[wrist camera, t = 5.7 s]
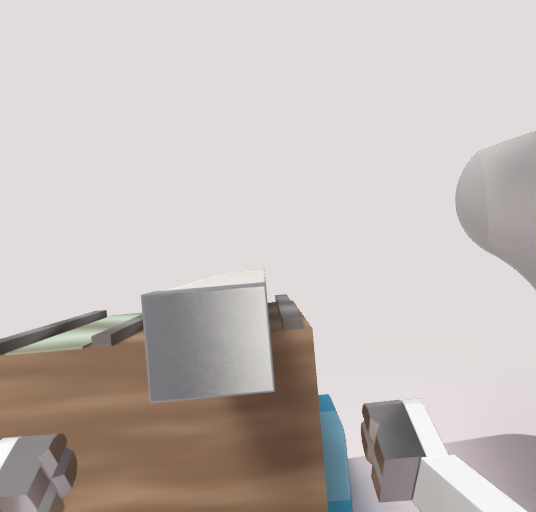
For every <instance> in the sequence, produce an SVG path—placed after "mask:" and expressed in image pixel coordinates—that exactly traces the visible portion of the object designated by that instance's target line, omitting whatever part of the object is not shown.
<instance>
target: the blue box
mask: <svg viewBox="0 0 536 512" xmlns="http://www.w3.org/2000/svg"><path fill="white" fill-rule="evenodd" d="M318 399H319V411H320V422H321V434H322V445H323V456H324V468H325V479H326V490H327V502H328V512H352V504H351V492H350V481H349V470H348V459H347V448H346V439H345V433H344V429H343V426H342V424H341V421H340V419H339V416H338V414H337V412H336V409H335V407H334V405H333V403H332V400H331V398H330V396H329V395H328V394H326V395H318Z"/></svg>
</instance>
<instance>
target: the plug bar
mask: <svg viewBox="0 0 536 512" xmlns="http://www.w3.org/2000/svg"><path fill="white" fill-rule="evenodd" d="M141 301H142V314H143V326H144V339H145V351H146V363H147V375H148V387H149V399H150V403H157V402H168V401H180V400H191V399H202V398H213V397H224V396H235V395H246V394H257V393H268V392H275V384H274V372H273V361H272V349H271V338H270V326H269V315H268V303H267V291H266V280H265V270H264V269H262V270H250V271H239V272H228V273H223V274H219V275H216V276H212V277H209V278H206V279H202V280H198V281H195V282H192V283H188V284H185V285H181V286H178V287H174V288H171V289H168V290H164V291H157V292H151V293H147V294H143V295H141Z"/></svg>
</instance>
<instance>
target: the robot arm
mask: <svg viewBox="0 0 536 512" xmlns="http://www.w3.org/2000/svg"><path fill="white" fill-rule="evenodd" d="M455 200H456V211H457V215H458V218H459V221H460V223H461V225H462V227H463V229H464V230H465V232H466V233H467V235H468V236H469V237H470V238H471V239H472V240H473V241H474V242H475V243H476V244H477V245H478V246H480V247H481V248H483V249H484V250H485V251H487V252H489V253H491V254H493V255H495V256H497V257H498V258H500V259H501V260H503V261H505V262H506V263H508V264H509V265H510V266H512V267H513V268H514V269H516V270H517V271H518V272H519V273H520V274H521V275H522V276H523V277H524V278H525V279H527V281H528V282H529V283H530V284H531V285H532V286H533V287H534V289H535V290H536V131H534V132H531V133H528V134H525V135H522V136H519V137H516V138H513V139H510V140H507V141H504V142H502V143H499V144H496V145H494V146H491V147H489V148H486V149H483V150H481V151H478V152H477V153H476V154H475V155H474V156H473V157H472V158H471V160H470V161H469V162H468V164H467V165H466V167H465V168H464V170H463V172H462V174H461V176H460V179H459V182H458V185H457V189H456V198H455ZM362 414H363V417H364V421H363V422H362V423H361V436H362V444H363V448H364V452H365V456H366V459H367V461H368V462H370V463H371V464H372V475H371V477H372V480H373V483H374V487H375V490H376V493H377V497H378V500H379V502H393V501H407V500H412V502H413V504H414V505H415V506H416V507H417V508H418V509H419V510H420V511H421V512H527V511H526V510H525V509H523V508H522V507H521V506H520V505H518V504H517V503H516V502H514V501H513V500H512V499H511V498H509V497H508V496H507V495H506V494H504V493H503V492H502V491H501V490H499V489H498V488H497V487H495V486H494V485H493V484H492V483H490V482H489V481H488V480H487V479H485V478H484V477H483V476H481V475H480V474H479V473H478V472H476V471H475V470H474V469H473V468H471V467H470V466H469V465H467V464H466V463H465V462H464V461H462V460H461V459H460V458H459V457H457V456H456V455H455V454H453V455H449V454H448V452H447V450H446V448H445V446H444V444H443V442H442V440H441V438H440V436H439V434H438V432H437V430H436V428H435V426H434V424H433V422H432V420H431V418H430V416H429V414H428V412H427V410H426V408H425V406H424V404H423V402H422V401H421V400H420V399H408V400H393V401H384V402H375V403H366V404H364V405H363V408H362ZM67 442H68V440H67V439H66V437H65V435H64V434H63V433H61V434H48V435H34V436H20V437H9V438H3V439H2V440H0V512H63V510H64V508H65V504H64V501H63V497H64V496H65V495H66V494H67V493H68V492H69V491H70V490H71V489H72V487H73V484H74V481H75V479H76V474H77V466H78V464H77V458H76V455H75V453H74V451H72V450H70V449H69V448H67V447H66V444H67Z"/></svg>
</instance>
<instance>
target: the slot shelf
mask: <svg viewBox="0 0 536 512" xmlns="http://www.w3.org/2000/svg"><path fill="white" fill-rule="evenodd" d="M275 298H276V302H272V303H268V315H269V326H270V338H271V349H272V361H273V372H274V384H275V392H268V393H257V394H246V395H235V396H224V397H213V398H202V399H191V400H180V401H168V402H157V403H150V399H149V387H148V375H147V363H146V351H145V339H144V326H143V314H142V313H134V314H124V315H123V314H122V315H112V316H109V317H107V313H106V312H107V311H106V310H104V311H94V312H91V313H88V314H84V315H81V316H77V317H74V318H70V319H67V320H64V321H60V322H57V323H54V324H50V325H47V326H43V327H40V328H37V329H33V330H30V331H26V332H23V333H20V334H16V335H13V336H10V337H6V338H3V339H0V440H2V439H3V438H9V437H20V436H34V435H48V434H61V433H63V434H64V435H65V437H66V439H67V440H68V442H67V444H66V447H67V448H69V449H70V450H72V451H74V453H75V455H76V458H77V464H78V466H77V474H76V479H75V481H74V484H73V487H72V489H71V490H70V491H69V492H68V493H67V494H66V495H65V496H64V497H63V501H64V504H65V508H64V510H63V512H328V502H327V490H326V479H325V468H324V456H323V445H322V434H321V422H320V411H319V399H318V389H317V377H316V365H315V354H314V343H313V331H312V327H311V326H310V325H309V323H308V322H307V320H306V319H305V318H304V316H303V315H302V313H301V312H300V310H299V309H298V308H297V306H296V305H295V303H294V302H293V301H290V299H289V298H288V296H287V295H275Z"/></svg>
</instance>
